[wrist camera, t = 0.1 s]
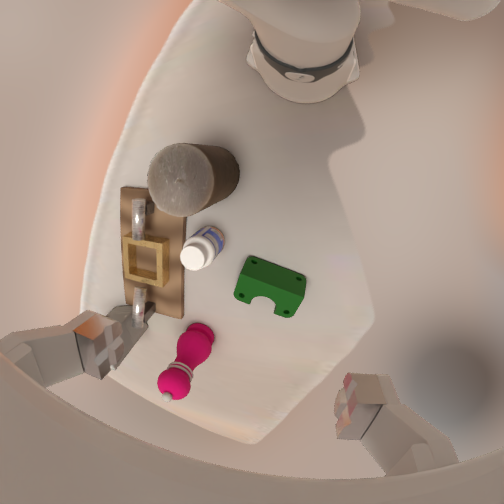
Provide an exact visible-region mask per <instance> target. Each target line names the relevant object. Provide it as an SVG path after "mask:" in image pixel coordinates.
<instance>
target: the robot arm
mask: <svg viewBox="0 0 504 504" xmlns="http://www.w3.org/2000/svg"><path fill="white" fill-rule="evenodd" d="M217 1H219V2H221V3H224V4H225V5H227V6H229V7H231V8H233V9H235V10H236V11H238V12H240V13H241V14H243V15H244V16H246V17H247V18H248V19H249V20H250V21H251V23H252V25H253V27H254V28H255V30H254V31H253V35H252V36H253V37H254V40H253V42H252V44H251V46H250V50H249V52H248V55H247V58H246V60H247V63H248V65H249V66H251V67H252V68H253V69H255V70H256V71H258V72H259V73H260V75H261V76H262V78H263V80H264V81H265V83H266V84H267V86H268V87H269V88H270V89H271V90H272V91H273V92H274V93H276V94H277V95H279V96H280V97H282V98H284V99H287V100H289V101H293V102H297V103H316V102H320V101H323V100H326V99H328V98H330V97H331V96H333V95H334V94H335V93H336V92H337V91H338V90H339V89H340V88H341V87H343V86H344V85H346V84H349V83H352V82H354V81H356V80H357V79H358V78H359V76H360V71H359V64H358V58H357V52H356V47H355V41H354V33H355V31H356V29H357V26H358V24H359V22H360V18H361V9H360V4H359V1H358V0H217ZM389 1H392V2H395V3H398V4H401V5H405V6H410V7H415V8H418V9H422V10H426V11H430V12H434V13H437V14H441V15H445V16H449V17H451V18H455V19H458V20H462V21H469V20H473V19H476V18H479V17H482V16H484V15H485V14H487V13H489V12H490V11H492V10H493V9H494V8H495V7H496V6H497V5H498V3H499V2H500V0H389ZM121 333H122V325H121V323H120V322H119V321H116V320H114V319H111V318H108V317H106V316H103V315H101V314H98V313H96V312H93V311H91V310H86V311H85V312H83V313H82V314H80V315H79V316H77V317H76V318H74V319H73V320H71V321H70V322H68V323H67V324H65V325H64V326H61V325H58V326H52V327H45V328H38V329H31V330H25V331H18V332H12V333H10V334H8V335H7V336H5V337H4V338H2V339H1V340H0V504H504V447H503V448H500V449H498V450H495V451H493V452H490V453H487V454H485V455H482V456H479V457H476V458H473V459H470V460H467V461H463V462H460V463H459V461H458V458H457V456H456V453H455V451H454V448H453V446H452V443H451V441H450V439H449V438H448V437H447V436H446V435H444V434H443V433H442V432H440V431H439V430H438V429H436V428H435V427H434V426H432V425H431V424H430V423H428V422H427V421H426V420H424V419H423V418H422V417H420V416H419V415H418V414H416V413H415V412H414V411H412V410H411V409H410V408H409V407H407V406H406V405H404V404H402V405H401V403H400V401H399V398H398V395H397V393H396V390H395V388H394V385H393V383H392V381H391V378H390V376H389V375H388V374H360V373H347V375H346V376H345V378H344V381H343V383H344V388H342V389H341V390H339V392H338V394H337V397H336V400H335V405H334V414H335V416H336V417H337V418H338V421H337V423H336V432H337V439H347V440H360V442H361V443H362V444H363V446H364V447H365V448H366V449H367V451H368V452H369V453H370V454H371V456H372V457H373V458H374V459H375V460H376V462H377V463H378V464H379V465H380V467H381V468H382V469H383V470H384V472H385V473H386V475H385V476H384V477H378V478H364V479H310V478H295V477H283V476H276V475H268V474H261V473H255V472H249V471H243V470H238V469H233V468H228V467H224V466H220V465H216V464H211V463H208V462H204V461H200V460H197V459H193V458H190V457H187V456H184V455H180V454H177V453H174V452H171V451H169V450H166V449H163V448H160V447H157V446H155V445H152V444H149V443H147V442H144V441H142V440H140V439H137V438H135V437H133V436H130V435H128V434H126V433H124V432H121V431H119V430H117V429H115V428H113V427H111V426H109V425H107V424H105V423H103V422H101V421H99V420H97V419H96V418H94V417H92V416H90V415H88V414H86V413H85V412H83V411H81V410H79V409H78V408H76V407H74V406H73V405H71V404H69V403H68V402H66V401H64V400H63V399H61V398H60V397H58V396H57V395H55V394H54V393H52V392H51V391H49V390H48V389H46V387H48V386H51V385H53V384H56V383H59V382H62V381H64V380H67V379H70V378H72V377H75V376H77V375H80V374H83V373H84V372H85V373H87V374H89V375H91V376H93V377H96V378H98V379H100V380H102V379H103V378H104V377H105V376H106V375H107V374H108V373H109V372H110V371H111V367H110V366H111V365H114V364H117V363H118V362H119V361H120V360H121V358H122V355H123V353H124V342H123V340H122V339H121V337H120V335H121Z"/></svg>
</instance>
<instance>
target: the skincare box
mask: <svg viewBox="0 0 504 504" xmlns="http://www.w3.org/2000/svg"><path fill="white" fill-rule="evenodd" d="M132 311H133V306H119V307H115V308H114V309H113V310H112V311H111V312H110V313H109V314H108V315H107V316H106V317H108V318H111V319H114V320H116V321H119V322H120V323H121V325H122V333H121V335H120V337H121V339H122V340H123V342H124V353H123V355H122V358H121V360H120V361H119V362H118V363H117V364H114V365H111V366H110V367H111V370H116V369H117V367H118V366H119V365H120V363H121V362H122V361H123V359H124V358H125V357H126V355H127V354H128V353H129V351H130V350H131V349H132V347H133V346H134V345H135V344H136V342H137V341H138V340H139V338H140V337H141V336H142V334H143V333H144V332H145V331H146V329H147V328H148V326H147V324H146V323H143V328H141V329H137V328H133V327H132V326H131V324H132Z"/></svg>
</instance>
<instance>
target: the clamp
mask: <svg viewBox="0 0 504 504" xmlns="http://www.w3.org/2000/svg"><path fill="white" fill-rule="evenodd" d="M305 288H306V278H305V277H304V276H303V275H301V274H298V273H296V272H293V271H290V270H288V269H285V268H283V267H280V266H277V265H275V264H272V263H269V262H267V261H264V260H261V259H259V258H256V257H248V258H247V260H246V262H245V264H244V266H243V269H242V271H241V273H240V276H239V279H238V282H237V285H236V288H235V291H234V297H235V298H236V299H237V300H239V301H242V302H244V303H247V304H250V303H251V300H252V299H253V298H254V297H257V296H265V297H268V298H270V299H271V300H273V301H274V302H275V304H276V306H275V310H274V314H277V315H279V316H282V317H285V318H290V317H292V316H293V315H294V314H295V312H296V310H297V309H298V307H299V305H300V304H301V302H302V300H303V299H304V295H305Z"/></svg>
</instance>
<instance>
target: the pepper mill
mask: <svg viewBox="0 0 504 504" xmlns="http://www.w3.org/2000/svg"><path fill="white" fill-rule="evenodd" d="M213 341H214V334H213V332H212V330H211V329H210V328H209V327H207V326H206V325H204V324H200V323H195V324H192V325H190V326H189V327H188V329H187V331H186V332H185V333H183V334H182V335H181V336H180V337H179V339H178V342H177V357H176V359H175V361H174V362H172V363H170V364H169V366H168V367H167V370H165V371H163V372H162V373H161V374H160V375H159V377H158V382H157V384H158V388H159V390H160V392H161V393H162V394H163V395H162V399H163V400H164V401H165V402H170V401H171V400H172V399H173V400H179V399H182V398H184V397H185V396H187V394H188V393H189V391H190V387H191V386H190V382H191V381H192V378H193V370H194V369H195V368H196V367H197V366H198V365H199V364H201V363H203V362H204V361H205V360H206V359H207V358H208V357H209V355H210V353H211V345H212V343H213Z"/></svg>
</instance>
